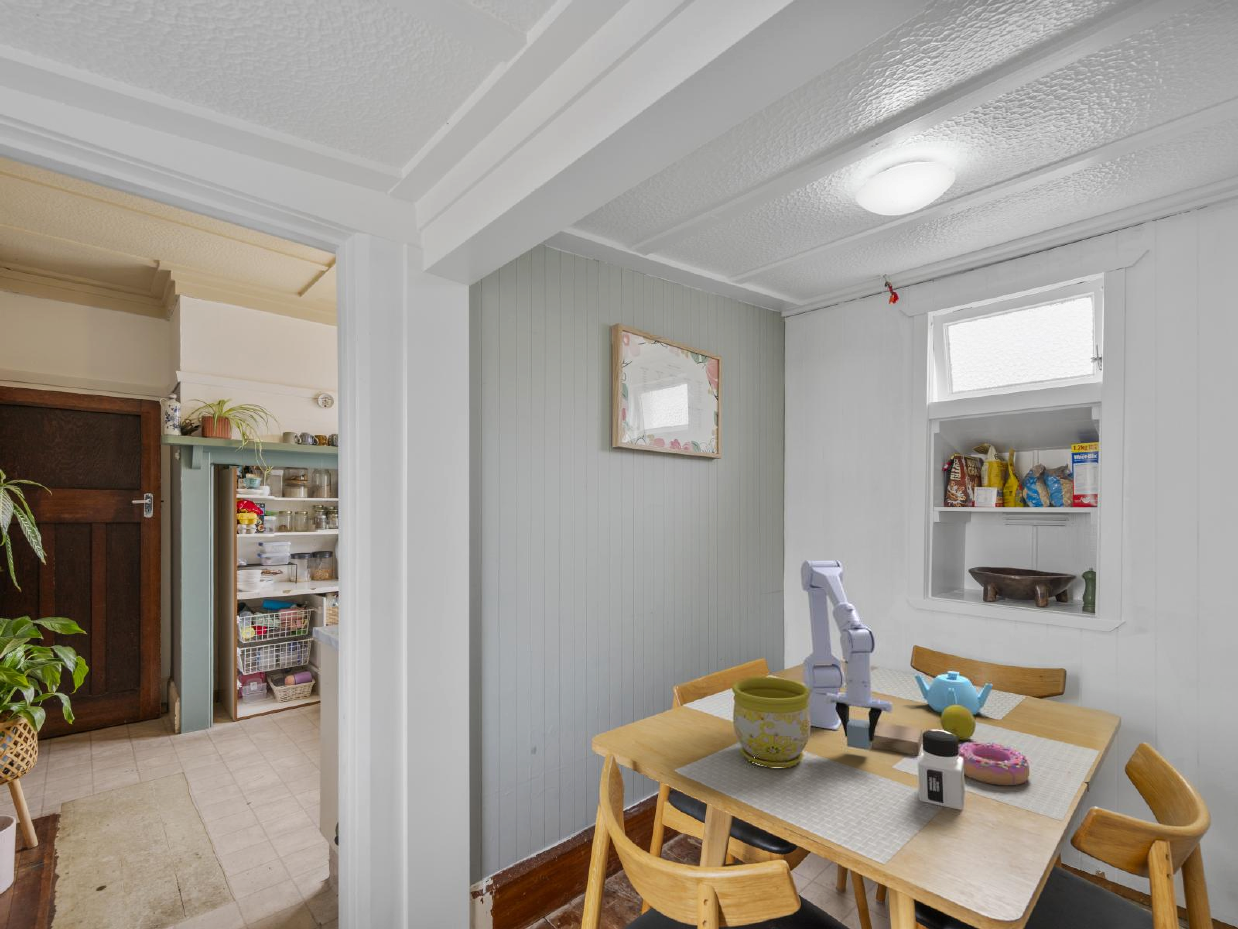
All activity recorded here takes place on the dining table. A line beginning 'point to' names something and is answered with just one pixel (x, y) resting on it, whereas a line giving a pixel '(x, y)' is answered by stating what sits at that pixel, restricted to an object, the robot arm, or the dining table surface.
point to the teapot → (953, 692)
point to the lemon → (958, 722)
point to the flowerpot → (771, 720)
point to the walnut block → (898, 738)
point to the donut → (994, 763)
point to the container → (941, 770)
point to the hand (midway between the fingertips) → (859, 737)
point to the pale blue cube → (858, 734)
